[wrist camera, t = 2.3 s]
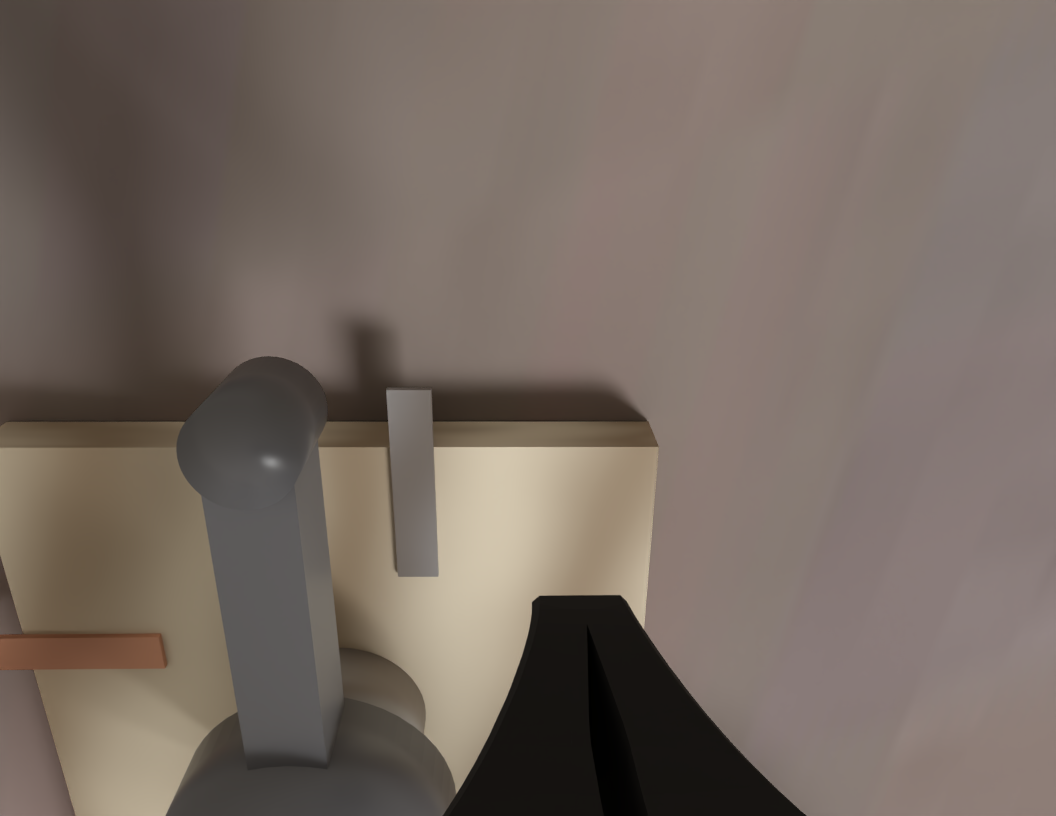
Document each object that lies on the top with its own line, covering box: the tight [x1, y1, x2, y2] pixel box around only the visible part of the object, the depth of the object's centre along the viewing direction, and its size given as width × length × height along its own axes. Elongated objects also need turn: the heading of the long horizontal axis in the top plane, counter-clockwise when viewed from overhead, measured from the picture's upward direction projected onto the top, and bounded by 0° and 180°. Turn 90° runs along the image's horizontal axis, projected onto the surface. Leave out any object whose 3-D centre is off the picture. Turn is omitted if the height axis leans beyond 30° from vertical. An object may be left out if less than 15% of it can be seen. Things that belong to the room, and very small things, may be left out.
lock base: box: [0, 388, 659, 816], centre depth 21 cm, size 18×18×4 cm
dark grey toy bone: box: [166, 356, 456, 816], centre depth 16 cm, size 14×6×3 cm, turn 179°
